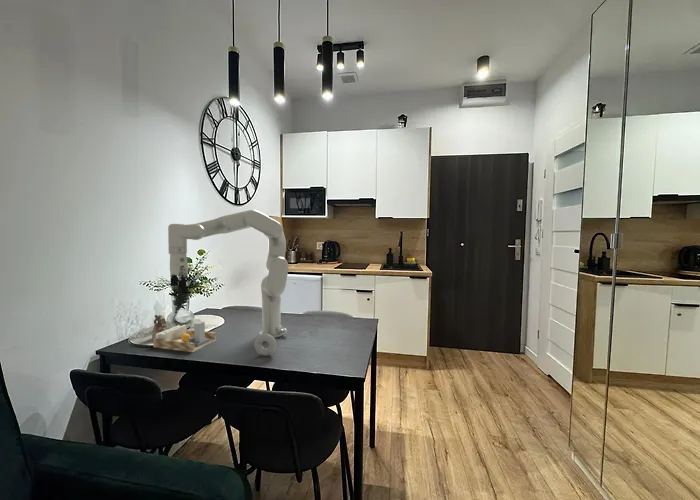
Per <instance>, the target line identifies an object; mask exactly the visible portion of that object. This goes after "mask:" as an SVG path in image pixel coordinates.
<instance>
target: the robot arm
mask: <svg viewBox="0 0 700 500" xmlns="http://www.w3.org/2000/svg"><path fill="white" fill-rule="evenodd" d="M167 227H168V228H167V233H168V234H167V239H168V243H167V244H168V255H169V274H170V276H169V277H170V280H169V281H170V287H175V286H177V288H178V289H179V290H183V289H187V277H188V275H189V267H188V256H187V254H188V240H192V241H199V240H201V239H203V238H207V237H210V236H217V235H221V234H222V235H223V234H230V233H235V232H236V231H237V232H238V231H242V230H245V229H249V228H252V229H254V230H256V231H259V232H260V233H262V234H263V235H265V237H267V239H268V242H269V247H268V254H267V258H266V263H265V264H266V265H265V267H266V269H267V271H268V275H266V276H264V277H263V279H262V280H261V283H260V287H261V288H260V289H261V290H260V291H261V324H262V326H261V330H260V331H259V333H258V336H259V335H261V334H270V335H272V336H273V337H274V338H275V339H276V338H279V337H282V336H283V335H284V334H287V333H288V328H287V327H286V328H284V327H283V325H281V323H282V321H281V318H282V317H281V315H282V314H281V313H282V311H281V304H282V303H281V302H282V301H281V296H282V294H283V293H284V292H285V289H286V285H287V278H288V273H289V263H288V260H287V259H286V258H285V256H286V249H287V239H286V237H285V234H284V232H283V230H284V229H283V225H282V224H281V223H280V221H277V220H275V219H273V218H271V217H270V216H268V215H266V214H265V213H263V212H261V211H259V210H257V209H248V210H244V211H239V212H235V213H231V214H226V215H223V216H219V217H217V218H215V219H209V220H205V221H202V222H198V223H192V224H191V223H190V224H184V223H170V224H169V225H168V226H167Z"/></svg>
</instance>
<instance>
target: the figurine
mask: <svg viewBox="0 0 700 500" xmlns="http://www.w3.org/2000/svg"><path fill="white" fill-rule="evenodd" d="M153 323H154V324H153V325H154V326H153V328H152V334H151V335H152V336H151V339H152V340H153V339H154V338H156V334H157V333H160V332H163V331H165V330H168V322H167V320H166V317H165V316H164V315H163V314H159V315H157V314H155V315H154V320H153Z"/></svg>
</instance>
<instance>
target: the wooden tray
mask: <svg viewBox="0 0 700 500" xmlns="http://www.w3.org/2000/svg"><path fill="white" fill-rule="evenodd" d="M186 333H187V334H189V335H190V338H192V337H194V329H187V328H186ZM205 338H208V339H210V341H208V342H206V343H204V344H202V345H200V346H194V343H190V342H189V341H187V342H183V341H182V340H181V337H178V336H177V337H175V338H172V339H170V340H166V339H158V338H154V339H152V341H153V342H152V343H153V345H152V346H153V348H156V349H157V348H158V349H164V350H171V351H172V350H173V351H180V352H189V353H194V352H196V351H199V350H200V349H203V348H205V347H206V346H208V345H210V344H212V343H214V342H216V341H217V333H216V332H213V331H206V330H205Z"/></svg>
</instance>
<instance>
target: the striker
mask: <svg viewBox="0 0 700 500" xmlns="http://www.w3.org/2000/svg"><path fill="white" fill-rule="evenodd" d="M205 322H206V321H200V320H199V321H196V322H194V323H193V327H194V328H193V330H194V337H192V338H190V339H189V342H190V343H194V346H200V345H202V344H204V343H206V342H208V341H210V339H208V338H205V331H206V329H205V326H206V325H205Z"/></svg>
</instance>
